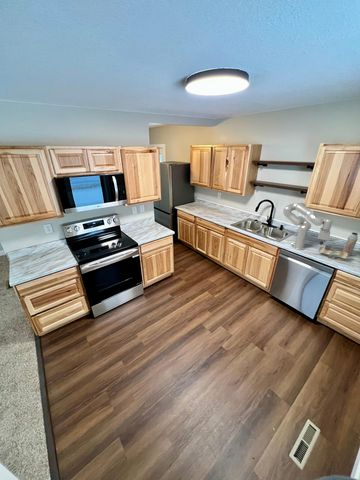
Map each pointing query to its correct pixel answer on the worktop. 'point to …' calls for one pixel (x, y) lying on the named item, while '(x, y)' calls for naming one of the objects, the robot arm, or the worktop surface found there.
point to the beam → (333, 253)
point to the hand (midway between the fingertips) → (321, 244)
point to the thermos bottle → (350, 244)
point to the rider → (327, 247)
